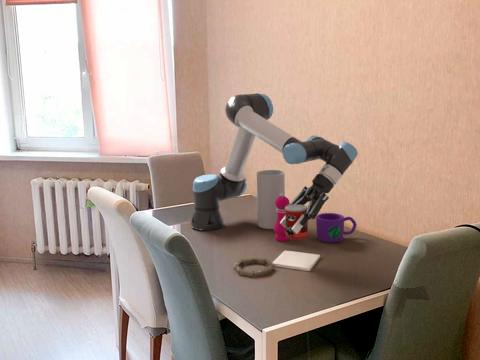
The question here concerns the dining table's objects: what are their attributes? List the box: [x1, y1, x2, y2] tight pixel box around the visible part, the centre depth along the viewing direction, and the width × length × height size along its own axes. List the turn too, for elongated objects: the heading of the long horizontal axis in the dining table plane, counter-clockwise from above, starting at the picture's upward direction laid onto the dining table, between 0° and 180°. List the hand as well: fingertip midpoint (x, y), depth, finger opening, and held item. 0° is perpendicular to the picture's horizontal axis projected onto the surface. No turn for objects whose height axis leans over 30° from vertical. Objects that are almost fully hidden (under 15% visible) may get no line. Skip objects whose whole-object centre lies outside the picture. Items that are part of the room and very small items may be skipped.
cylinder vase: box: [256, 169, 286, 230], centre depth 214 cm, size 12×12×25 cm
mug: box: [315, 212, 358, 244], centre depth 195 cm, size 17×11×10 cm, turn 101°
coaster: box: [272, 250, 321, 272], centre depth 172 cm, size 14×14×1 cm
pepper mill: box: [273, 193, 291, 242], centre depth 195 cm, size 7×7×20 cm
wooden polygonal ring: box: [233, 257, 275, 278], centre depth 167 cm, size 13×13×2 cm
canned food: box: [285, 204, 309, 240], centre depth 169 cm, size 8×8×11 cm
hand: (288, 228), depth 169 cm, fingers closed on canned food, 8 cm apart
